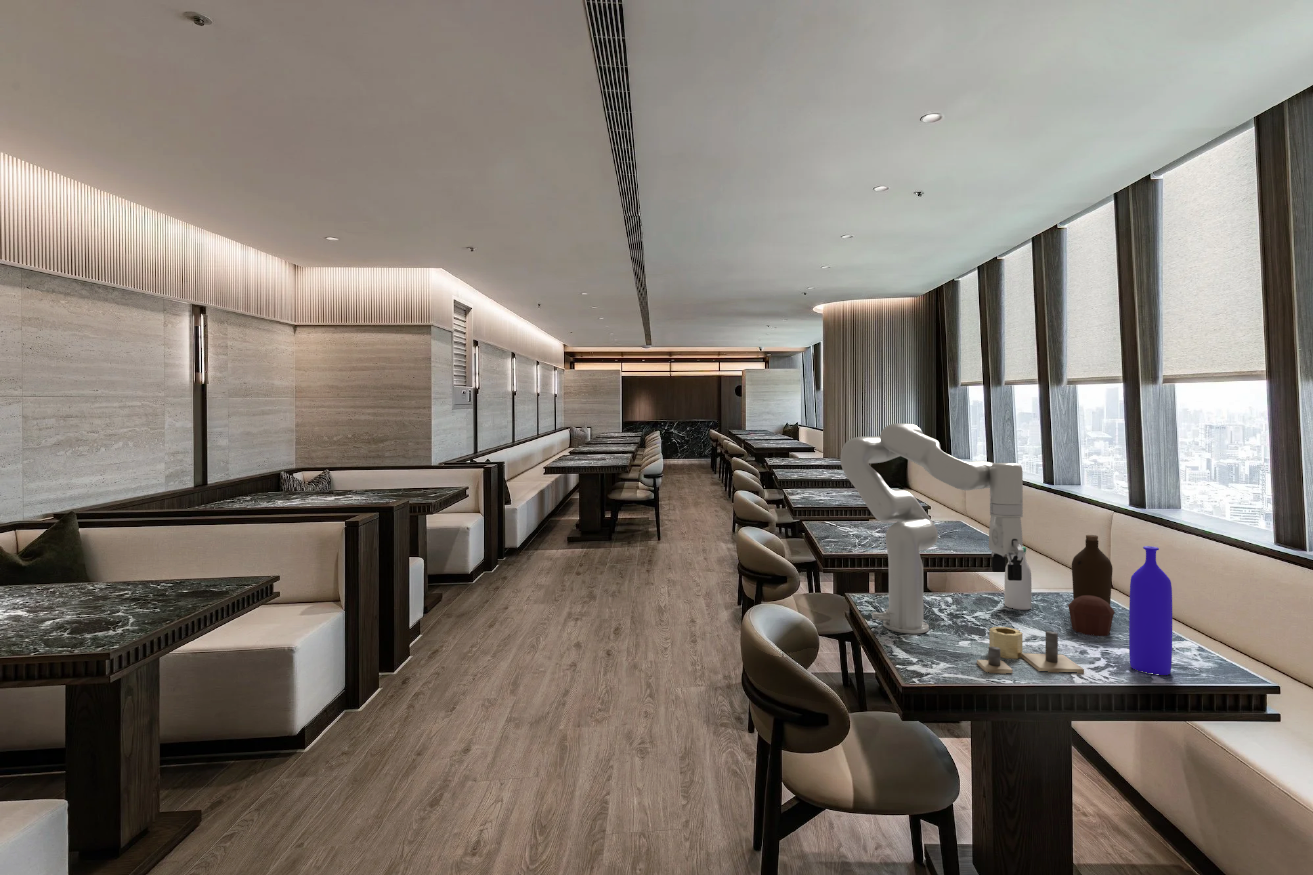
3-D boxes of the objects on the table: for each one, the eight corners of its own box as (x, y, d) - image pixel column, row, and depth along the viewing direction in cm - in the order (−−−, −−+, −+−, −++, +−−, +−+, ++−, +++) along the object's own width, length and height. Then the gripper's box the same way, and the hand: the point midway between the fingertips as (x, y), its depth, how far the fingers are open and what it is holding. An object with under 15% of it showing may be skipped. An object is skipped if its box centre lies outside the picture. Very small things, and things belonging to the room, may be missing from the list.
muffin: (1067, 623, 193) (1067, 590, 193) (1112, 628, 188) (1112, 594, 188) (1069, 634, 183) (1069, 599, 183) (1116, 640, 177) (1116, 604, 177)
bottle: (1181, 675, 152) (1182, 549, 152) (1148, 677, 151) (1149, 550, 151) (1151, 663, 160) (1152, 543, 160) (1120, 664, 160) (1121, 544, 159)
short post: (986, 672, 155) (986, 652, 155) (976, 663, 161) (976, 643, 161) (1012, 673, 154) (1012, 652, 154) (1002, 664, 160) (1002, 644, 160)
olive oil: (1109, 622, 194) (1109, 539, 193) (1068, 615, 201) (1068, 535, 201) (1114, 614, 201) (1115, 535, 201) (1075, 608, 209) (1075, 531, 208)
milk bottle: (1035, 611, 206) (1035, 549, 206) (1009, 609, 207) (1009, 548, 207) (1026, 604, 213) (1026, 544, 213) (1001, 603, 215) (1001, 543, 215)
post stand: (1039, 671, 155) (1039, 638, 155) (1021, 656, 165) (1021, 626, 165) (1084, 673, 154) (1084, 640, 154) (1062, 658, 164) (1062, 627, 164)
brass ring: (997, 658, 164) (997, 634, 164) (986, 648, 171) (986, 626, 171) (1026, 659, 164) (1026, 635, 163) (1014, 649, 170) (1014, 627, 170)
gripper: (978, 506, 176) (978, 568, 176) (1005, 514, 159) (1005, 583, 159) (1007, 506, 175) (1007, 569, 175) (1037, 514, 158) (1037, 584, 158)
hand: (1006, 575), depth 167 cm, fingers open, 9 cm apart
